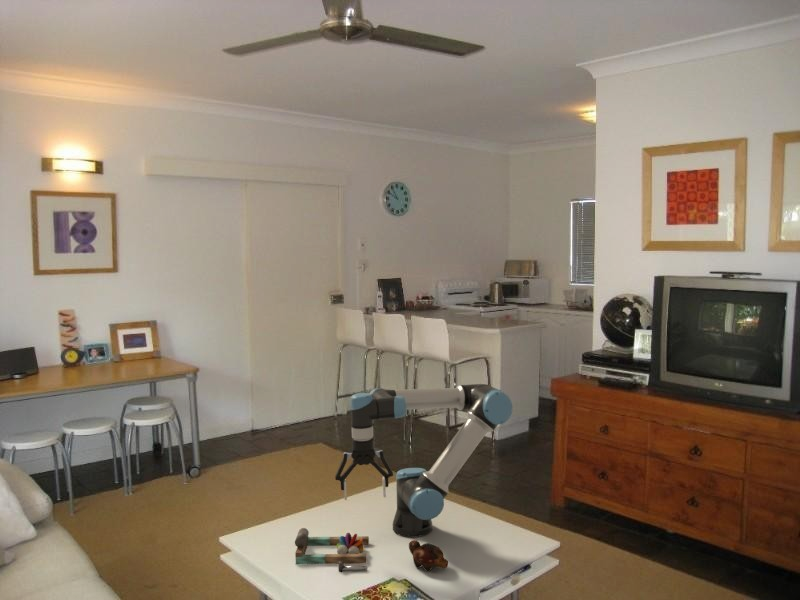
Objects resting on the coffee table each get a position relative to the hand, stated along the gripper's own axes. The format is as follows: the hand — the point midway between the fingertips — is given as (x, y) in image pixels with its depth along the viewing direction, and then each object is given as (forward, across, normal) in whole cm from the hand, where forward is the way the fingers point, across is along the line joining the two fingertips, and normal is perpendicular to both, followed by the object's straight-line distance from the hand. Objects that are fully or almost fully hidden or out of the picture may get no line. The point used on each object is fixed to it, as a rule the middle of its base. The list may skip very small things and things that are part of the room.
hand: (365, 497), depth 235 cm
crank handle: (+20, +5, +14) cm, 24 cm away
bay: (+19, +12, 0) cm, 23 cm away
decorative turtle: (+20, -20, +15) cm, 32 cm away
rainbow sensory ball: (+20, +6, 0) cm, 21 cm away
